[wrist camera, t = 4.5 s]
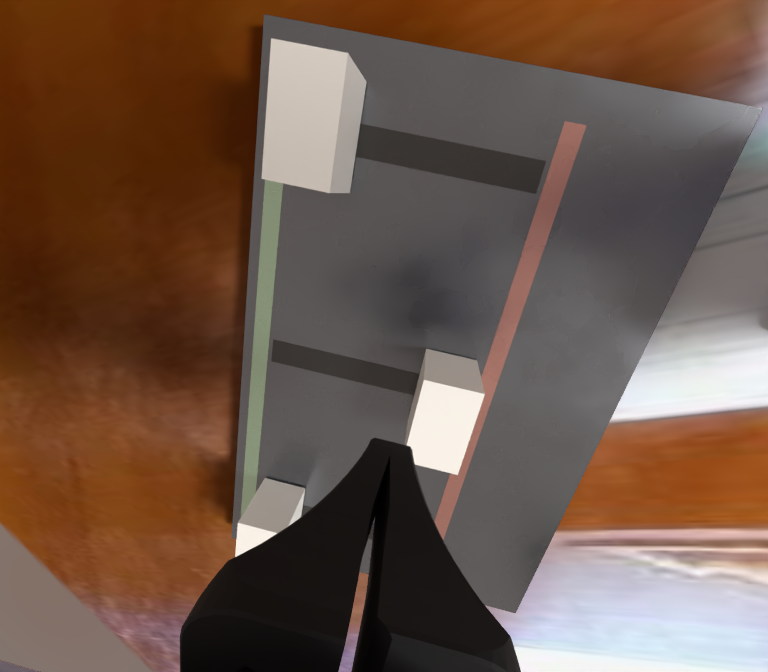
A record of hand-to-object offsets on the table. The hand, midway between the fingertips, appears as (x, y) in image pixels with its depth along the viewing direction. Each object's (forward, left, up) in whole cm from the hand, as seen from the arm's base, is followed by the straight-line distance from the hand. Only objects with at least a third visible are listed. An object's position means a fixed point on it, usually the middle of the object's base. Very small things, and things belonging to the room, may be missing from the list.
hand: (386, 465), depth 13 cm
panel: (-1, 0, -7) cm, 7 cm away
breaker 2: (+5, -10, -6) cm, 13 cm away
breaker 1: (+5, +10, -6) cm, 13 cm away
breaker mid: (-2, 0, -6) cm, 6 cm away
